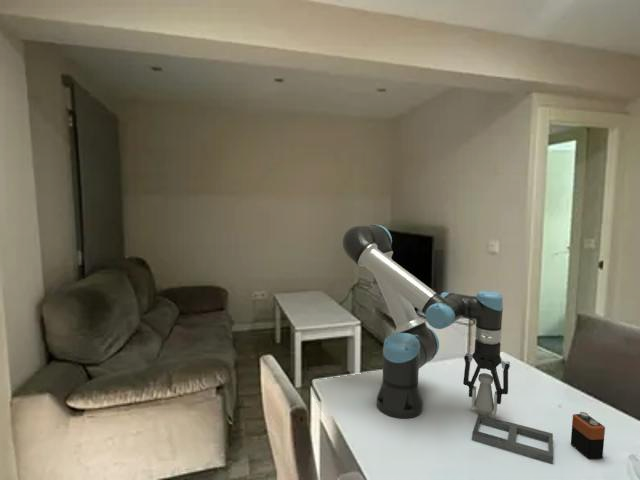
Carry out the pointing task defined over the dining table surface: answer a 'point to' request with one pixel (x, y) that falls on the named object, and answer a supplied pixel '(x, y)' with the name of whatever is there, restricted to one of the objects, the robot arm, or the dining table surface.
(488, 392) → the salt shaker
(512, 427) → the double window frame
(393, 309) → the robot arm
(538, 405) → the dining table surface
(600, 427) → the battery
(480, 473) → the dining table surface
